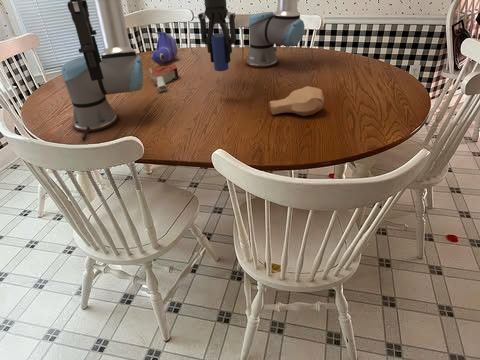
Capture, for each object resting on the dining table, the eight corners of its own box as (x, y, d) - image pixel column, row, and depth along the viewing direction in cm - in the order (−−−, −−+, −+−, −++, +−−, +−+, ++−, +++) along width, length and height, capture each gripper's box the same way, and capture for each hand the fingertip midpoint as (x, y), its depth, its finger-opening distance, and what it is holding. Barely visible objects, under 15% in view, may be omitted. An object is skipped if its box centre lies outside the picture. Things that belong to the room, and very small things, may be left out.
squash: (328, 116, 127) (328, 95, 121) (272, 126, 129) (270, 106, 123) (321, 99, 135) (321, 79, 128) (269, 109, 137) (266, 89, 130)
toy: (165, 64, 198) (145, 69, 175) (161, 31, 191) (139, 33, 169) (182, 63, 196) (164, 69, 173) (178, 30, 189) (159, 32, 167)
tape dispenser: (162, 96, 154) (191, 78, 166) (160, 85, 150) (189, 67, 163) (133, 88, 161) (162, 71, 174) (130, 77, 158) (160, 60, 170)
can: (230, 66, 138) (228, 33, 131) (225, 71, 134) (222, 37, 127) (217, 65, 140) (214, 32, 133) (212, 70, 136) (208, 37, 129)
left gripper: (86, -25, 67) (115, 84, 79) (86, -35, 86) (109, 54, 98) (43, -21, 65) (80, 90, 77) (53, -32, 84) (81, 58, 96)
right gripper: (185, -4, 122) (194, 63, 135) (236, -4, 116) (240, 66, 130) (194, -8, 127) (202, 57, 141) (243, -9, 122) (246, 59, 136)
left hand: (97, 70), depth 88 cm, fingers open, 13 cm apart
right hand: (220, 61), depth 136 cm, fingers closed on can, 5 cm apart
